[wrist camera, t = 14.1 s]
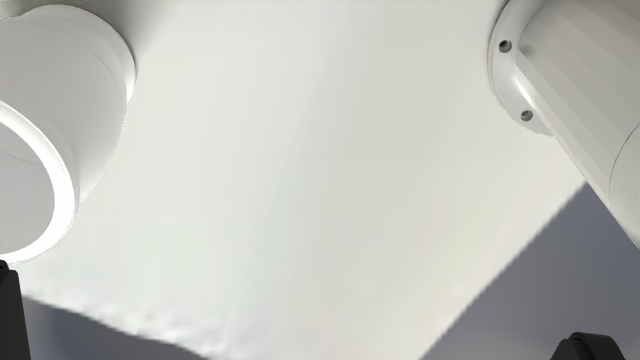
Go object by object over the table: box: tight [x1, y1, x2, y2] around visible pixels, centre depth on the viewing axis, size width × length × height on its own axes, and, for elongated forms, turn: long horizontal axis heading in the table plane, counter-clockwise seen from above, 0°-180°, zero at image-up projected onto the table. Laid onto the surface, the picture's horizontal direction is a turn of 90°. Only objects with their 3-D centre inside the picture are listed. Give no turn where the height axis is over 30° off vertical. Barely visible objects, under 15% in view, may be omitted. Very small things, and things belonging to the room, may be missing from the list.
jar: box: [0, 5, 136, 266], centre depth 33 cm, size 11×10×15 cm
